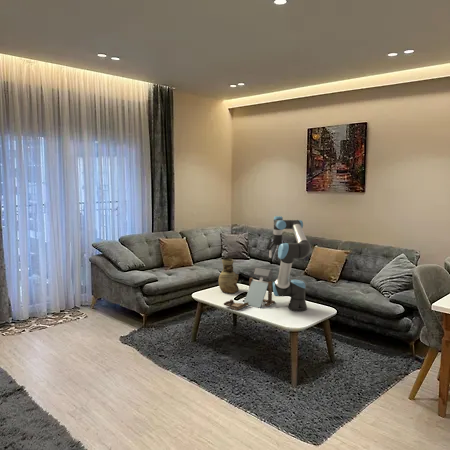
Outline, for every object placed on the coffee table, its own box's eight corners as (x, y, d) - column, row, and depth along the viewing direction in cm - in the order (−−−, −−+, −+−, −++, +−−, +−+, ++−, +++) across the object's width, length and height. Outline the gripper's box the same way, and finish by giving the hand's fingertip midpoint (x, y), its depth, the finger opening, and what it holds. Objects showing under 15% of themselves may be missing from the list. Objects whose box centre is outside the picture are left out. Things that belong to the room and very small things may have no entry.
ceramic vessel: (244, 292, 374) (245, 260, 370) (225, 295, 363) (225, 262, 359) (233, 287, 390) (233, 256, 386) (214, 290, 379) (214, 259, 375)
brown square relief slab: (249, 301, 333) (240, 306, 320) (248, 306, 334) (240, 311, 321) (231, 298, 342) (222, 302, 329) (231, 303, 342) (222, 307, 329)
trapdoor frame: (274, 302, 344) (275, 280, 341) (267, 306, 334) (268, 283, 331) (252, 297, 356) (253, 276, 354) (245, 301, 346) (246, 279, 344)
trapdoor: (274, 273, 345) (271, 270, 340) (261, 309, 332) (258, 306, 327) (258, 271, 354) (254, 267, 349) (245, 305, 341) (242, 302, 336)
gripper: (293, 235, 340) (292, 259, 343) (267, 232, 354) (266, 256, 357) (289, 236, 334) (288, 261, 337) (263, 233, 348) (262, 257, 351)
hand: (277, 258), depth 347 cm, fingers open, 13 cm apart
